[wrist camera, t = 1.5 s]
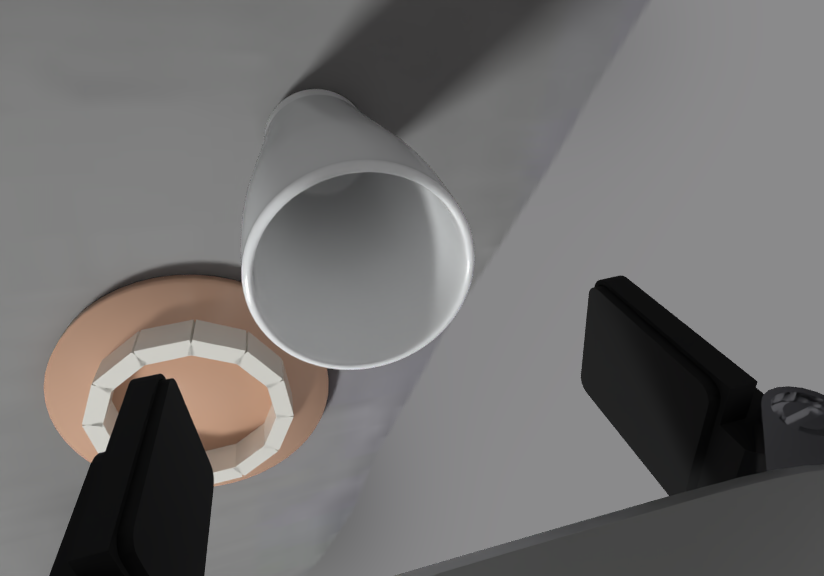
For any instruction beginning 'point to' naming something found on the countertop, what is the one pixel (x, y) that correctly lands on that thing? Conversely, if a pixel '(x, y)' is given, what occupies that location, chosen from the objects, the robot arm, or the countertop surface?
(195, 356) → the tan saucer
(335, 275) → the drinking glass
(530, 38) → the countertop surface
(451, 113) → the countertop surface
